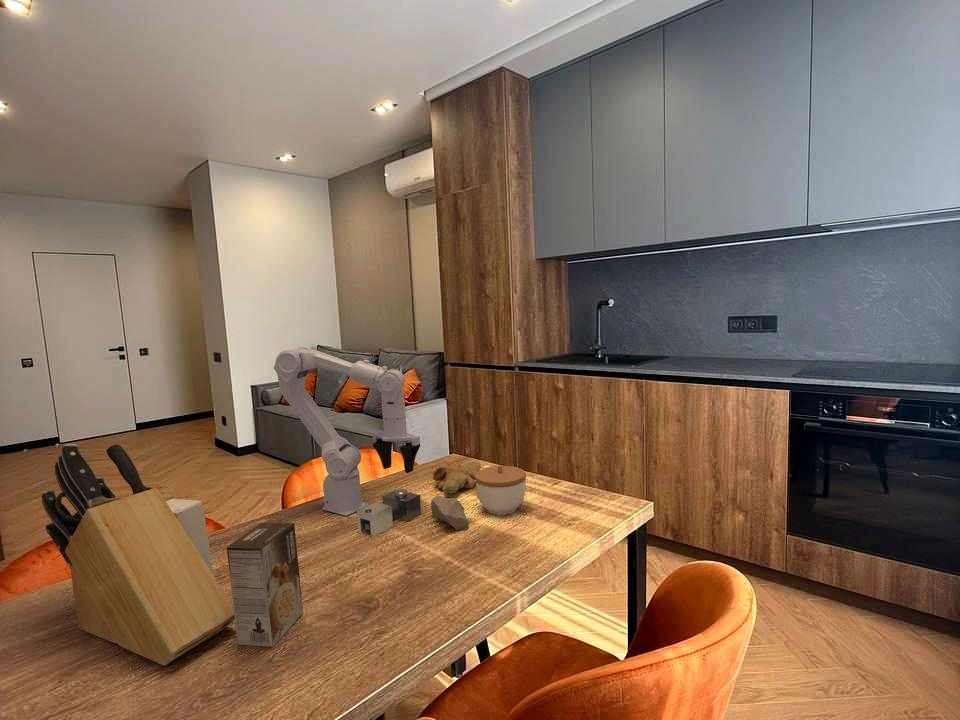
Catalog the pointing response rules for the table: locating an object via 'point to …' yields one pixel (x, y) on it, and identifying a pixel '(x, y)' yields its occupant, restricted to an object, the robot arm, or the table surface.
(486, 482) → the lidded bowl
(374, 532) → the notched block with hole
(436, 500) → the concrete fragment
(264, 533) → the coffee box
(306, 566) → the table surface
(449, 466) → the ginger root
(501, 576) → the table surface
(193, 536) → the skincare box
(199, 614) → the knife block
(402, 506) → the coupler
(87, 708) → the table surface
